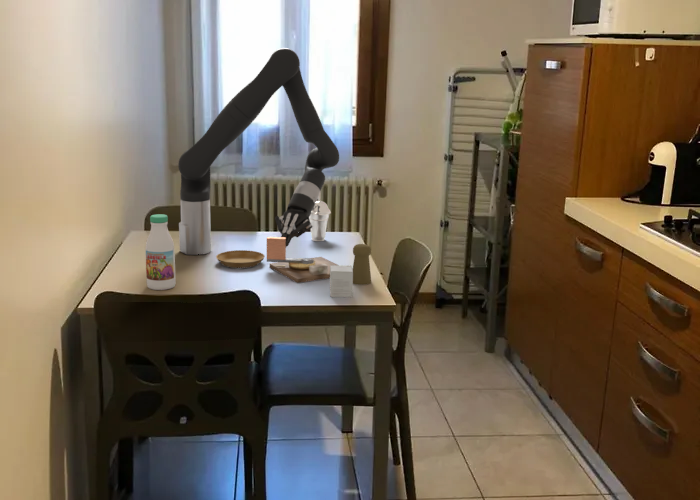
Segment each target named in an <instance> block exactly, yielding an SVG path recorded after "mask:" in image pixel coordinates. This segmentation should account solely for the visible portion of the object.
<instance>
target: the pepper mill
mask: <svg viewBox="0 0 700 500" xmlns="http://www.w3.org/2000/svg"><path fill="white" fill-rule="evenodd" d="M352 253H353V256H354V258H353V264H352V270H353V285H359V286H362V285H370V284H371V283H372V275H371V274H372V273H371V266H370V256H371V253H372V248H371V246H370V245H369V244H365V243H357V244H355V245H354V246H353V248H352Z"/></svg>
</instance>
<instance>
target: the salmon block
mask: <svg viewBox="0 0 700 500" xmlns="http://www.w3.org/2000/svg"><path fill="white" fill-rule="evenodd" d="M286 249H287V247H286V237H281V236H280V237H279V236H267V237H266V262H268V263H277V262H285V263H289V267H290V268H293V269H300V270H305V269H309V266H312V265H315V261H314V260H313V259H311V258H312V257H303V258H301V257H300V258H295V257H294V258H291V257H287V250H286Z"/></svg>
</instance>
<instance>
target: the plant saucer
mask: <svg viewBox="0 0 700 500" xmlns="http://www.w3.org/2000/svg"><path fill="white" fill-rule="evenodd" d="M215 257H216V260H217V261H218V262H219V263H220V264H221V265H223V266H224V267H226V268H230V269H249V268H253V267H257V266H258V265H259V264H261V262H262V261H264V258H265V254H264V253H262V252H261V251H260V252H258V251H255V250H247V249H246V250H243V249H242V250H228V251H224V252H223V251H222V252H220V253H218V254H217V255H216V256H215Z"/></svg>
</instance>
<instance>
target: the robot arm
mask: <svg viewBox="0 0 700 500" xmlns="http://www.w3.org/2000/svg"><path fill="white" fill-rule="evenodd" d="M269 57H270V58H269V59H268V61H267V62H266V63H265V65H264V66H263V67H262V69H261V70H260V72H259V73H258V74H257V75H256V76H255V77H254V79H252V80H251V81H250V82H249V83H248V84H247V85H245V87H243V88H242V89H241V90H240V91H238V93H236V95H234V97H232V98H231V99H230V101H229V102H227V104H226V105H225V106H224V107H223V109H222V110H221V111H220V112H219V113H218V115H217V116H216V117H215V119H213V122H212V123H211V124H210V126H209V127H208V128H207V131H205V133H204V135H203V136H202V137H201V138H200V139H198V141H196V142H195V143H194V144H193V145H192V146H191V147H190V148H188V149H187V150H185V151H184V152H183V153H182V154H181V156H180V157H179V158H178V162H177V163H178V171H179V173H180V191H179V195H180V199H179V200H180V222H178V234H179V235H178V237H179V251H180V252H181V253H183V254H184V255H186V256H188V255H192V256H194V255H198V254H199V255H206V254H209V253H211V252H212V241H211V239H212V237H211V232H212V230H211V166H212V165H213V163H214V162H215V161H216V159H217V158H218V157H219V156H220V155H221V153H222V152H223V151H224V150H225V149H226V148H227V147H228V146H229V145H230V144H232V143H233V142H235V140H236V139H238V138H239V136H241V135H242V134H243V133H244V131H246V129H247V128H248V127H249V126H250V125H252V123H253V122H254V121H255V120H256V119H257V117H258V116H259V115H260V114H261V112H262V111H263V109H264V108H265V107H266V105H267V104H268V102H269V100H270V99H271V98H272V97H273V96H274V94H275V93H276V92H277V91H278V90H279V89H280V88H281V87H283V89H284V92H285V93H286V95H287V98H288V100H289V103H290V106H291V109H292V112H293V114H294V118H295V121H296V124H297V126H298V128H299V131H300V133H301V135H302V137H303V139H304V141H305V142H306V143H307V144H308V143H309V144H313V145H314V146H315V147H316V148H313V149H312V150H310V151H309V153H308V154H307V157H306V160H305V165H304V172H303V175H302V177H301V178H300V181H299V183H298V184H297V186H296V187H295V189H294V191H293V194H292V196H291V197H290V200H289V202H288V204H287V208H286V211H284V212H283V214H282V215H281V216H279V215H276V216H275V217H274V219H275V223H276V226H277V230H278V232H280V234H281V235H280V237H286V248H287V247H288V246H289V245H290V243H291V241H292V239H294V237H296V238H299V237H300V236H302V235H303V234H305V233H306V232H308V231H309V230H311V228H312V224H311V223H310V220H309V216H310V215H311V213H312V210H313V208H314V206H315V204H316V202H317V201H318V197H319V193H320V194H321V191H322V189H323V186H324V184H325V182H326V175H325V174H324V172H323V170H324V169H329V168H333V167H336V166H337V165H338V164H339V161H340V152H339V150H338V147H337V146H336V144H335V143H334V141H333V140H332V139H331V137H330V136H329V135H328V132H327V131H325V128H324V126H323V123H322V121H321V118H320V116H319V114H318V112H317V110H316V107H315V106H314V104H313V101H312V99H311V98H310V95H309V93H308V90H307V89H306V86H305V83H304V80H303V76H302V72H301V69H300V68H301V67H300V66H301V65H300V63H301V62H300V58H299V56H298V54H297V53H296V52H295V51H294V50H292V49H291V48H287V47H282V48H278V49H276V50H275V51H274V52H272V54H271V55H270V56H269Z"/></svg>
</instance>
